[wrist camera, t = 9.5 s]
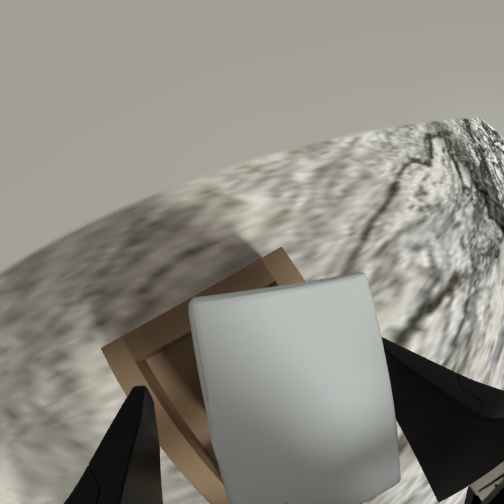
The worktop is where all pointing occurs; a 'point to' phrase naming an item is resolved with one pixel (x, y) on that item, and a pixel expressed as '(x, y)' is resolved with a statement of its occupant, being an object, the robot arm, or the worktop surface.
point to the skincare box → (297, 392)
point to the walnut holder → (186, 374)
